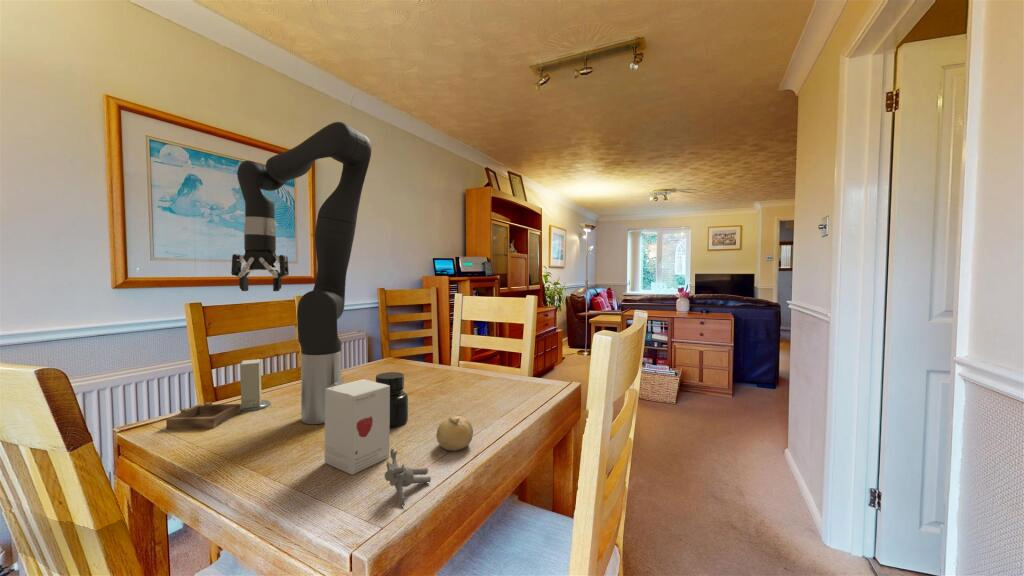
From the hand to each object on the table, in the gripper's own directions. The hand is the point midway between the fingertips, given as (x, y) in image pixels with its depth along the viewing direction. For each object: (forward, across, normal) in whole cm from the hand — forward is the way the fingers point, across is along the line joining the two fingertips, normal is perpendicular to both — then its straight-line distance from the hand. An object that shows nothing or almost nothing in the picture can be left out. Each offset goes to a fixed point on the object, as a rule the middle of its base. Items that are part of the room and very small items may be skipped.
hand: (260, 291), depth 110 cm
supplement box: (+32, -38, +38) cm, 63 cm away
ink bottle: (+32, -40, +18) cm, 55 cm away
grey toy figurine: (+32, -49, +50) cm, 77 cm away
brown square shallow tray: (+32, +6, +14) cm, 36 cm away
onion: (+32, -57, +33) cm, 73 cm away
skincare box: (+32, 0, +4) cm, 32 cm away
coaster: (+32, 0, +4) cm, 32 cm away
